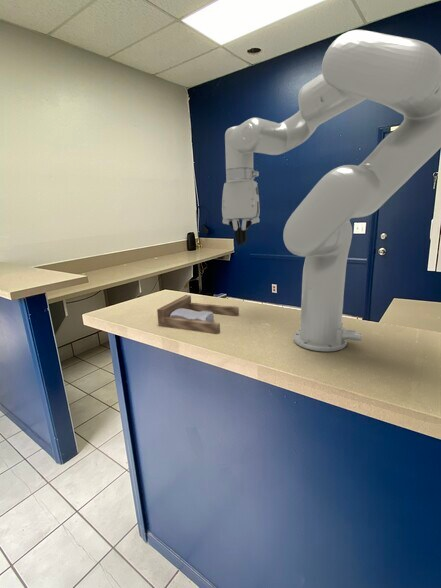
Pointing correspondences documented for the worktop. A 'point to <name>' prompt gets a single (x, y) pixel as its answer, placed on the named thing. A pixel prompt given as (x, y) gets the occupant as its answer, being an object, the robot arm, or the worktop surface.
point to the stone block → (193, 315)
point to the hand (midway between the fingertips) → (241, 244)
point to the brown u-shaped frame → (186, 303)
